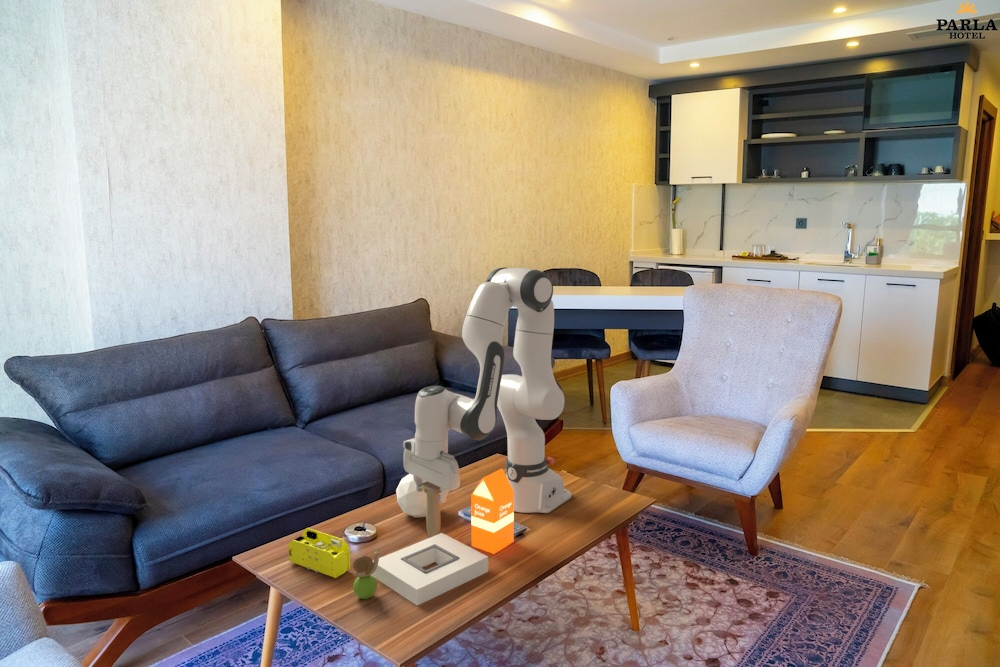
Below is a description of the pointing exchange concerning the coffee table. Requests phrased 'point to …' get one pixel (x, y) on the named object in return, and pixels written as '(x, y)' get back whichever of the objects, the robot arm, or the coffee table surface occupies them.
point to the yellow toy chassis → (320, 553)
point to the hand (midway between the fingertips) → (431, 496)
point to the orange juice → (492, 513)
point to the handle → (432, 508)
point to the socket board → (422, 584)
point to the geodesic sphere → (411, 497)
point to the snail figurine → (365, 575)
